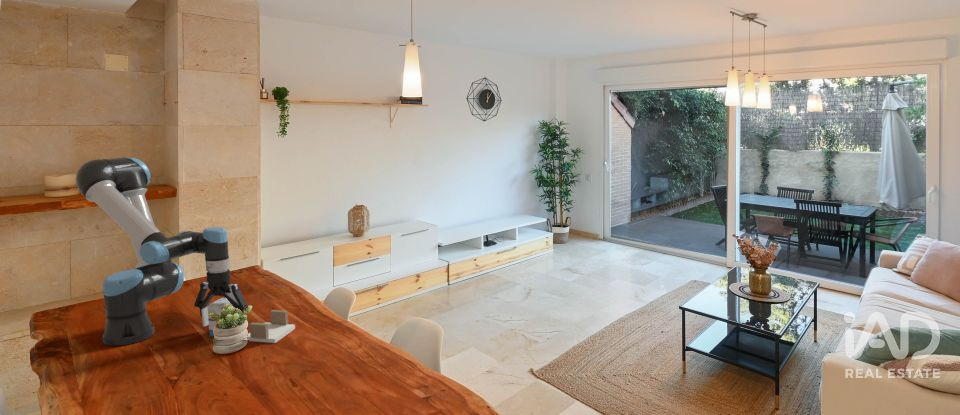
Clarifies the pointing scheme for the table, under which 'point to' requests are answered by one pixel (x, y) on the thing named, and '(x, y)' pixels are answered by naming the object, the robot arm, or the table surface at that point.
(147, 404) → the table surface
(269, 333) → the stand
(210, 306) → the ink box
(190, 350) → the table surface
